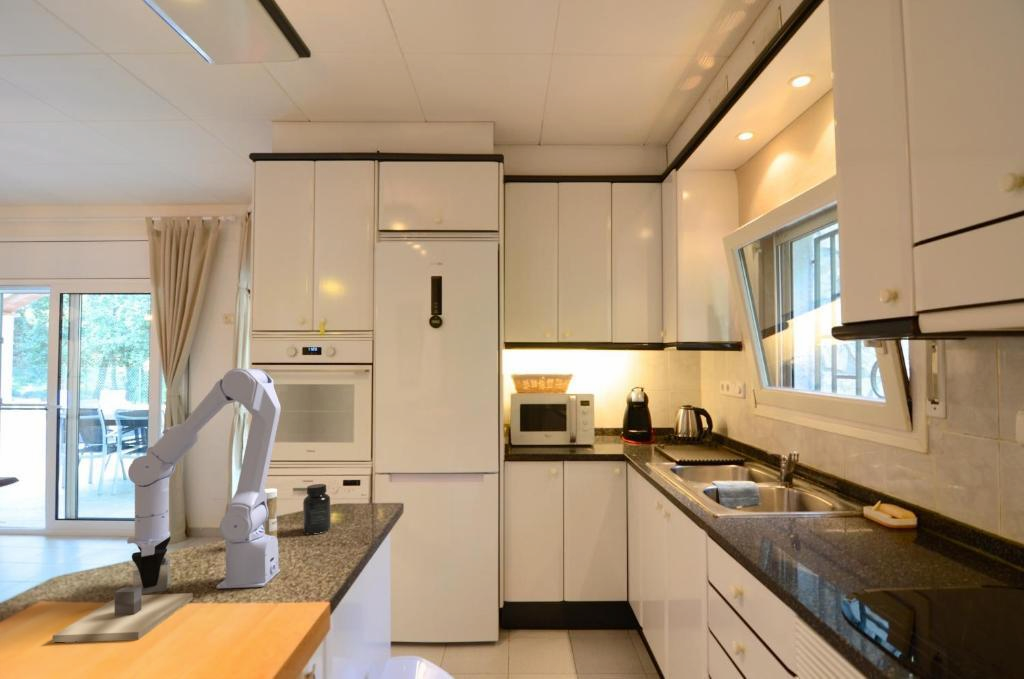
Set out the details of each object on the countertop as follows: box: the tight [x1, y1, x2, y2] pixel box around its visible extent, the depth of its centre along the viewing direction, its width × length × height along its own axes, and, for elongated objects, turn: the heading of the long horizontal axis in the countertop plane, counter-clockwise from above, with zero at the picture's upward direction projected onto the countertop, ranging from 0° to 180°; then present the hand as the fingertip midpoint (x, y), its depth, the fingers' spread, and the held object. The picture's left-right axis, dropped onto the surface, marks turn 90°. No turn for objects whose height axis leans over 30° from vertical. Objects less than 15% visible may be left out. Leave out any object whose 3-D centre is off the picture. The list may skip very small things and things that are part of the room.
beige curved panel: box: [52, 586, 194, 643], centre depth 89 cm, size 14×14×5 cm
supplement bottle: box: [302, 483, 332, 535], centre depth 135 cm, size 7×7×12 cm
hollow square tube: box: [132, 555, 171, 595], centre depth 102 cm, size 6×6×5 cm
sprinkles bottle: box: [263, 487, 279, 541], centre depth 126 cm, size 5×5×14 cm
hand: (152, 581), depth 102 cm, fingers closed on hollow square tube, 6 cm apart
